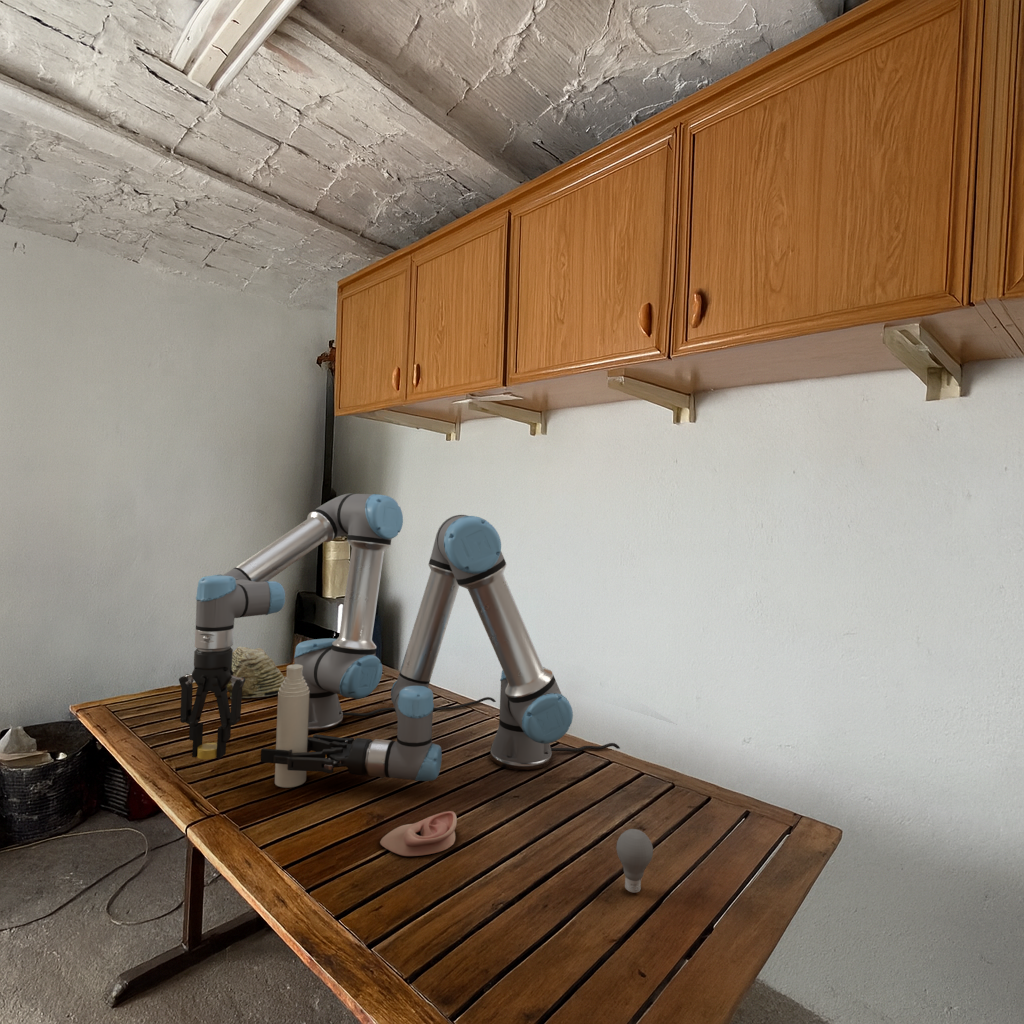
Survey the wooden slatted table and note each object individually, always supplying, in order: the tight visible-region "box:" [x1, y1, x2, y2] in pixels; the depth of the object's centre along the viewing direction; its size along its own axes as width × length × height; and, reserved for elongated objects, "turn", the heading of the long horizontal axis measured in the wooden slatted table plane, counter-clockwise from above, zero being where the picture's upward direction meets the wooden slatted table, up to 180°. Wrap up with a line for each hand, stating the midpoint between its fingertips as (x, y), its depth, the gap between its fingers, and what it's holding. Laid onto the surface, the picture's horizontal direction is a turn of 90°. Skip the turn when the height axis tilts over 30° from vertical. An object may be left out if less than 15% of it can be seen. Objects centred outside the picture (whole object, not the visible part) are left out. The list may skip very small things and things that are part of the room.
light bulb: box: [615, 828, 654, 894], centre depth 106 cm, size 6×6×10 cm
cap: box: [196, 742, 217, 760], centre depth 137 cm, size 5×5×2 cm
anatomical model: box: [379, 810, 458, 857], centre depth 118 cm, size 13×4×12 cm
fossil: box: [227, 646, 286, 699], centre depth 198 cm, size 9×18×15 cm, turn 132°
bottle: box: [274, 663, 310, 789], centre depth 140 cm, size 7×7×26 cm
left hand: (209, 755), depth 137 cm, fingers closed on cap, 4 cm apart
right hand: (270, 748), depth 141 cm, fingers closed on bottle, 7 cm apart
